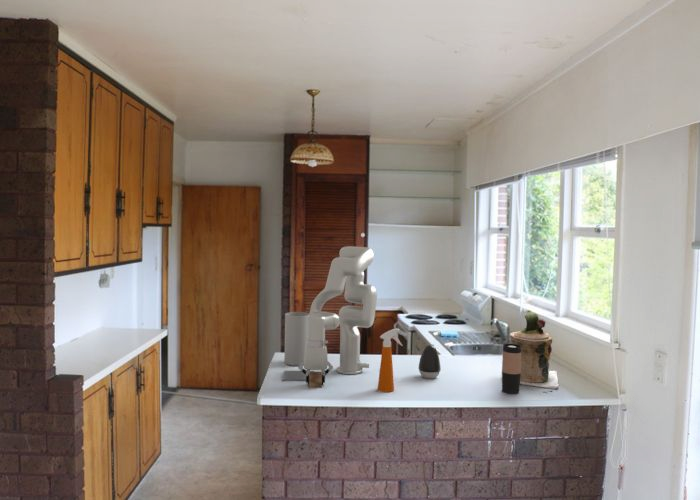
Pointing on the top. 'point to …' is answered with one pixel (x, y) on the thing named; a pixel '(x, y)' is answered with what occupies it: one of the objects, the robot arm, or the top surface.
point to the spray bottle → (387, 362)
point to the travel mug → (511, 368)
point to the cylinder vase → (295, 337)
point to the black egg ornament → (429, 362)
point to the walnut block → (315, 379)
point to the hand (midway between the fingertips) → (315, 383)
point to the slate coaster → (294, 376)
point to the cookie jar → (535, 353)
